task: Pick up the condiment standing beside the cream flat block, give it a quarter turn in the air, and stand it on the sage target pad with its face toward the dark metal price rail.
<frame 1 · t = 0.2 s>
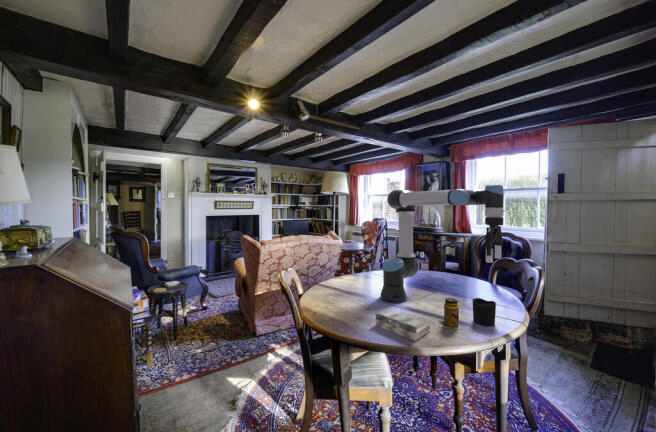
hand: (493, 260, 130), 28 cm above the table, tool pointing down, fingers open, 13 cm apart
cream flat block: (401, 328, 119), on the table
condiment: (449, 325, 122), on the table
pen holder: (483, 323, 124), on the table
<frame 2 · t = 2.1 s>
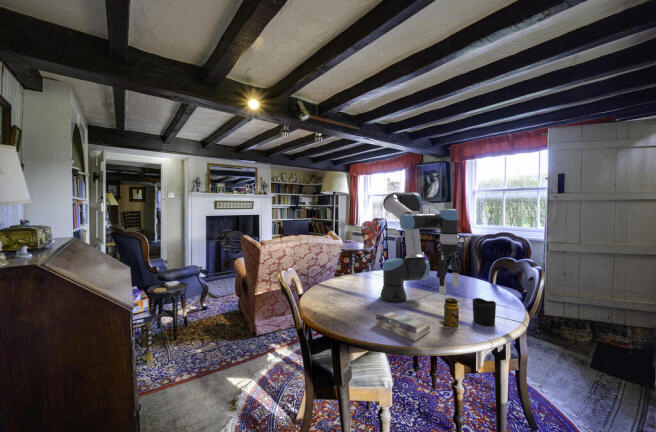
hand: (449, 289, 121), 16 cm above the table, tool pointing down, fingers open, 13 cm apart
nothing on the table moved.
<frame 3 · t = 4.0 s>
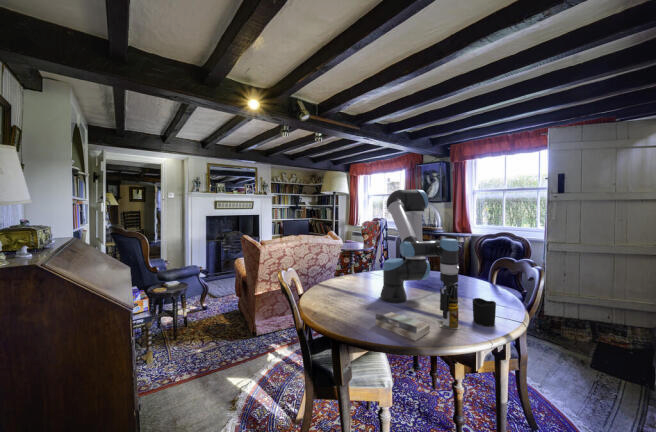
hand: (449, 322, 122), 1 cm above the table, tool pointing down, fingers closed on condiment, 6 cm apart
condiment: (448, 325, 122), on the table, touching gripper
everything else where it was.
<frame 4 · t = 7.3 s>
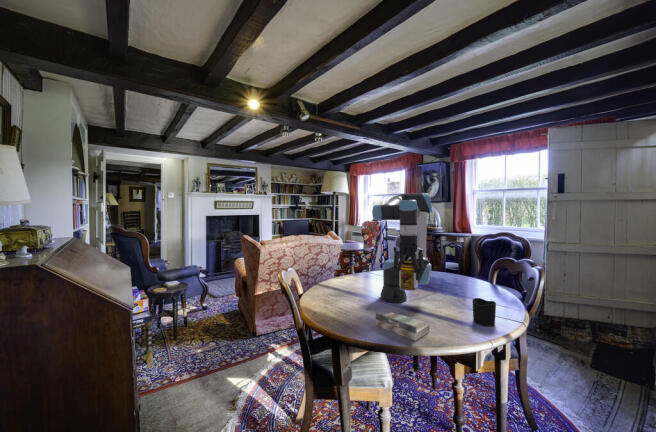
hand: (408, 285, 120), 19 cm above the table, tool pointing down, fingers closed on condiment, 6 cm apart
condiment: (408, 288, 120), point 18 cm above the table, touching gripper
everything else where it was.
when the fingers open (5 cm above the table, at t = 10.5 s): condiment drops 1 cm, resting on cream flat block.
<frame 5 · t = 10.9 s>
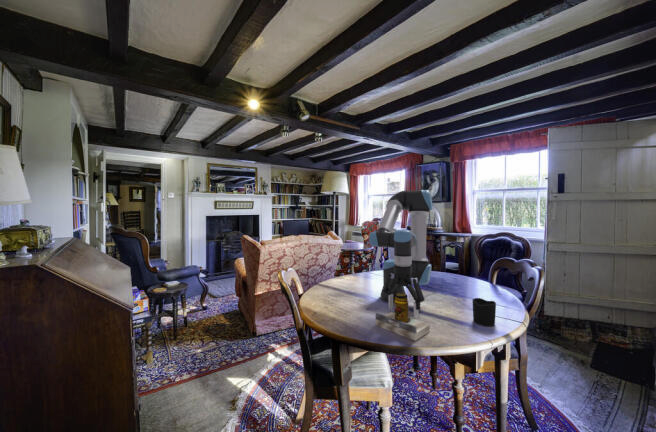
hand: (403, 312, 120), 7 cm above the table, tool pointing down, fingers open, 12 cm apart
condiment: (402, 320, 120), point 3 cm above the table, touching cream flat block
everything else where it was.
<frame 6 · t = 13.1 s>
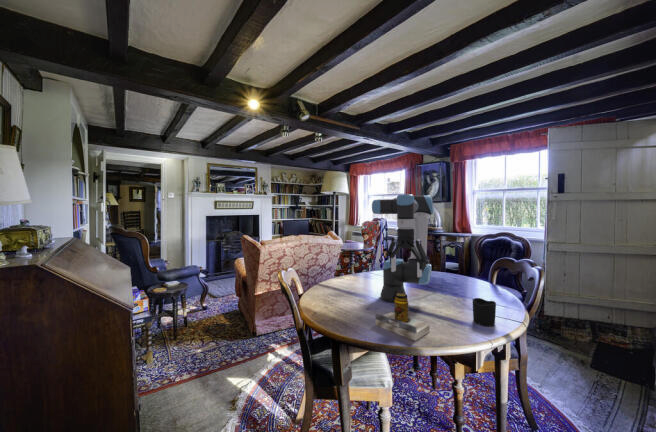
hand: (406, 273, 123), 23 cm above the table, tool pointing down, fingers open, 13 cm apart
nothing on the table moved.
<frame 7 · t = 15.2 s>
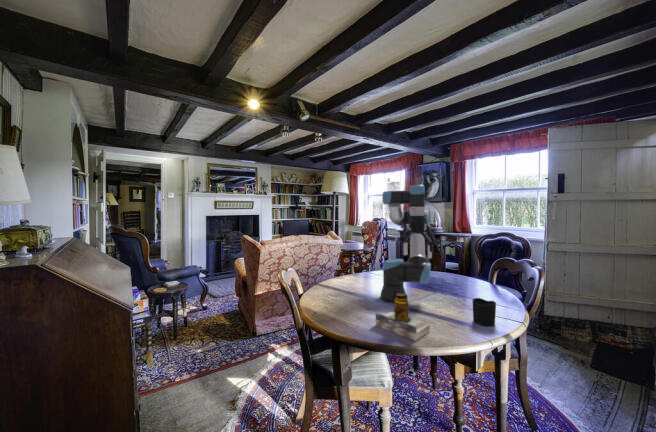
hand: (417, 256, 137), 29 cm above the table, tool pointing down, fingers open, 13 cm apart
nothing on the table moved.
at the end: condiment inside the target area on the cream flat block (0.7 cm from its centre), point 3.0 cm above the cream flat block's base; condiment tilted 0°; the gripper is holding nothing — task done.
